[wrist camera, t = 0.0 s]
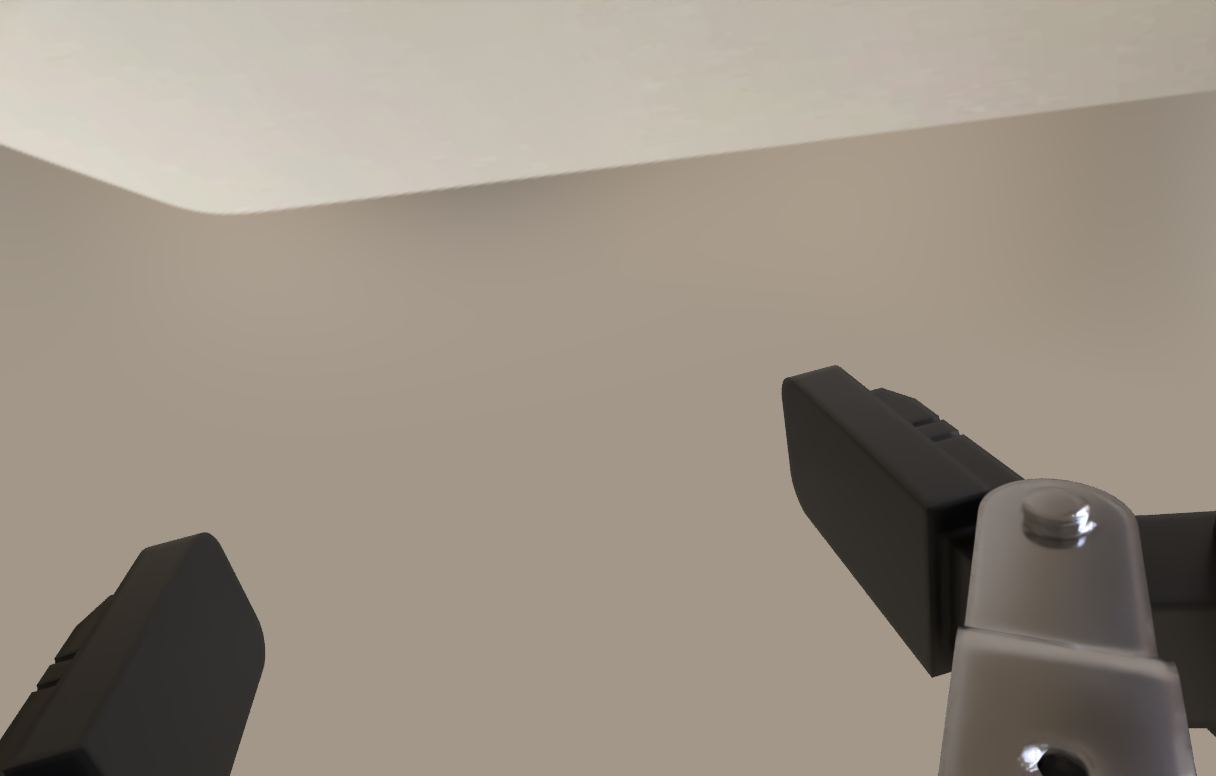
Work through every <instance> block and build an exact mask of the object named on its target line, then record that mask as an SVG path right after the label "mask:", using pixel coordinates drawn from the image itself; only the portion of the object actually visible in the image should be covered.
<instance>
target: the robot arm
mask: <svg viewBox="0 0 1216 776" xmlns="http://www.w3.org/2000/svg"><path fill="white" fill-rule="evenodd" d="M782 401H783V411H784V418H785V428H786V436H787V445H788V453H789V462H790V471H791V477H792V482H793V485H794V489H795V492H796V495H797V497H798V500H799V502H800V505H801V507H802V508H803V510H804V512H805V514H806V515H807V516H808V518H809V519H810V520H811V522H812V523H813V524H814V526H815V527H816V528H817V529H818V531H819V532H820V533H821V535H822V536H823V537H824V538H825V540H826V541H827V542H828V544H829V545H830V546H831V548H832V549H833V550H834V552H835V553H836V554H837V555H838V557H839V558H840V559H841V561H842V562H843V563H844V564H845V566H846V567H847V568H848V569H849V571H850V572H851V574H852V575H853V576H854V577H855V579H856V580H857V581H858V582H859V584H860V585H861V586H862V587H863V589H864V590H865V592H866V593H867V594H868V596H869V597H870V598H871V599H872V600H873V602H874V603H875V605H876V606H877V607H878V608H879V610H880V611H881V612H882V614H883V615H884V616H885V617H886V619H887V620H888V621H889V623H890V624H891V625H892V626H893V627H894V629H895V630H896V632H897V633H898V634H899V636H900V637H901V638H902V639H903V641H904V642H905V643H906V645H907V646H908V647H909V649H910V650H911V651H912V652H913V654H914V655H915V656H916V658H917V659H918V660H919V661H920V663H921V664H922V665H923V667H924V668H925V669H926V670H927V672H928V673H929V674H930V676H931V677H932V678H933V677H935V676H939V675H942V674H946V673H949V672H951V679H950V688H949V695H948V704H947V710H946V719H945V727H944V734H943V741H942V750H941V757H940V765H939V773H938V776H1197V774H1196V768H1195V763H1194V757H1193V752H1192V746H1191V740H1190V734H1189V728H1207V729H1208V730H1209V731H1210V732H1211V733H1212V734H1213V735H1214V736H1215V737H1216V511H1210V512H1193V513H1177V514H1160V515H1139V516H1134V514H1133V513H1132V511H1131V510H1130V509H1129V508H1128V507H1127V506H1126V505H1125V504H1124V503H1123V502H1121V501H1120V500H1118V499H1117V498H1116V497H1114V496H1112V495H1110V494H1108V493H1107V492H1105V491H1102V490H1100V489H1097V488H1095V487H1092V486H1089V485H1085V484H1082V483H1077V482H1073V481H1068V480H1060V479H1059V480H1058V479H1043V478H1041V479H1026V480H1025V479H1023V478H1022V477H1021V476H1019V475H1018V474H1016V473H1015V472H1014V471H1013V470H1011V469H1010V468H1009V467H1007V466H1006V465H1005V464H1003V463H1002V462H1000V461H999V460H998V459H996V458H995V457H994V456H992V455H991V454H990V453H988V452H987V451H985V450H984V449H983V448H981V447H980V446H979V445H977V444H976V443H975V442H973V441H972V440H971V439H969V438H968V437H966V436H965V435H959V432H958V430H957V429H955V428H954V427H953V426H952V425H950V424H949V423H947V422H946V421H945V420H940V419H939V416H938V415H936V414H935V413H934V412H932V411H931V410H930V409H928V408H927V407H926V406H924V405H923V404H922V403H920V402H919V401H917V400H916V399H914V398H911V397H908V396H905V395H902V394H899V393H896V392H893V391H890V390H886V389H883V388H879V389H875V390H872V391H870V390H868V389H867V388H866V387H865V386H863V385H862V384H861V383H859V382H858V381H857V380H856V379H854V378H853V377H852V376H851V375H849V374H848V373H847V372H846V371H844V370H843V369H842V368H841V367H839V366H836V365H834V366H830V367H826V368H822V369H818V370H815V371H811V372H807V373H803V374H800V375H796V376H792V377H788V378H786V379H784V381H783V384H782ZM264 662H265V643H264V636H263V632H262V628H261V625H260V622H259V620H258V618H257V616H256V614H255V612H254V610H253V608H252V606H251V604H250V602H249V600H248V598H247V596H246V594H245V592H244V590H243V589H242V586H241V584H240V582H239V580H238V579H237V577H236V575H235V572H234V571H233V569H232V567H231V565H230V563H229V561H228V559H227V557H226V555H225V553H224V551H223V549H222V547H221V545H220V543H219V542H218V541H217V539H216V538H215V537H214V536H212V535H211V534H209V533H200V534H196V535H192V536H188V537H184V538H181V539H177V540H173V541H170V542H166V543H162V544H158V545H155V546H151V547H148V548H145V549H144V550H142V552H141V553H140V554H139V556H138V557H137V559H136V560H135V562H134V564H133V565H132V567H131V568H130V570H129V571H128V573H127V575H126V576H125V578H124V579H123V581H122V582H121V584H120V586H119V587H118V589H117V590H116V592H115V593H114V595H110V596H109V597H108V598H107V599H106V600H105V601H104V602H103V603H101V604H100V605H99V606H98V607H97V608H96V609H95V610H94V611H93V612H91V613H90V614H89V615H88V616H87V617H86V618H85V619H84V620H83V621H82V622H80V623H79V624H78V625H77V626H76V627H75V629H74V630H73V632H72V633H71V635H70V636H69V638H68V639H67V641H66V642H65V644H64V645H63V647H62V648H61V650H60V651H59V653H58V654H57V656H56V657H55V664H52V665H50V666H49V668H48V669H47V671H46V672H45V674H44V675H43V677H42V678H41V680H40V681H39V683H38V684H37V688H38V690H37V691H36V692H32V693H31V695H30V696H29V698H28V699H27V701H26V702H25V704H24V705H23V707H22V708H21V710H20V711H19V713H18V714H17V715H16V717H15V719H14V720H13V722H12V724H11V725H10V726H9V727H8V729H7V730H6V732H5V733H4V735H3V736H2V738H1V740H0V776H230V773H231V770H232V767H233V763H234V760H235V757H236V754H237V750H238V748H239V744H240V741H241V738H242V735H243V732H244V729H245V725H246V722H247V719H248V715H249V713H250V709H251V706H252V703H253V700H254V697H255V693H256V690H257V687H258V684H259V681H260V678H261V674H262V671H263V667H264Z"/></svg>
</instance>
